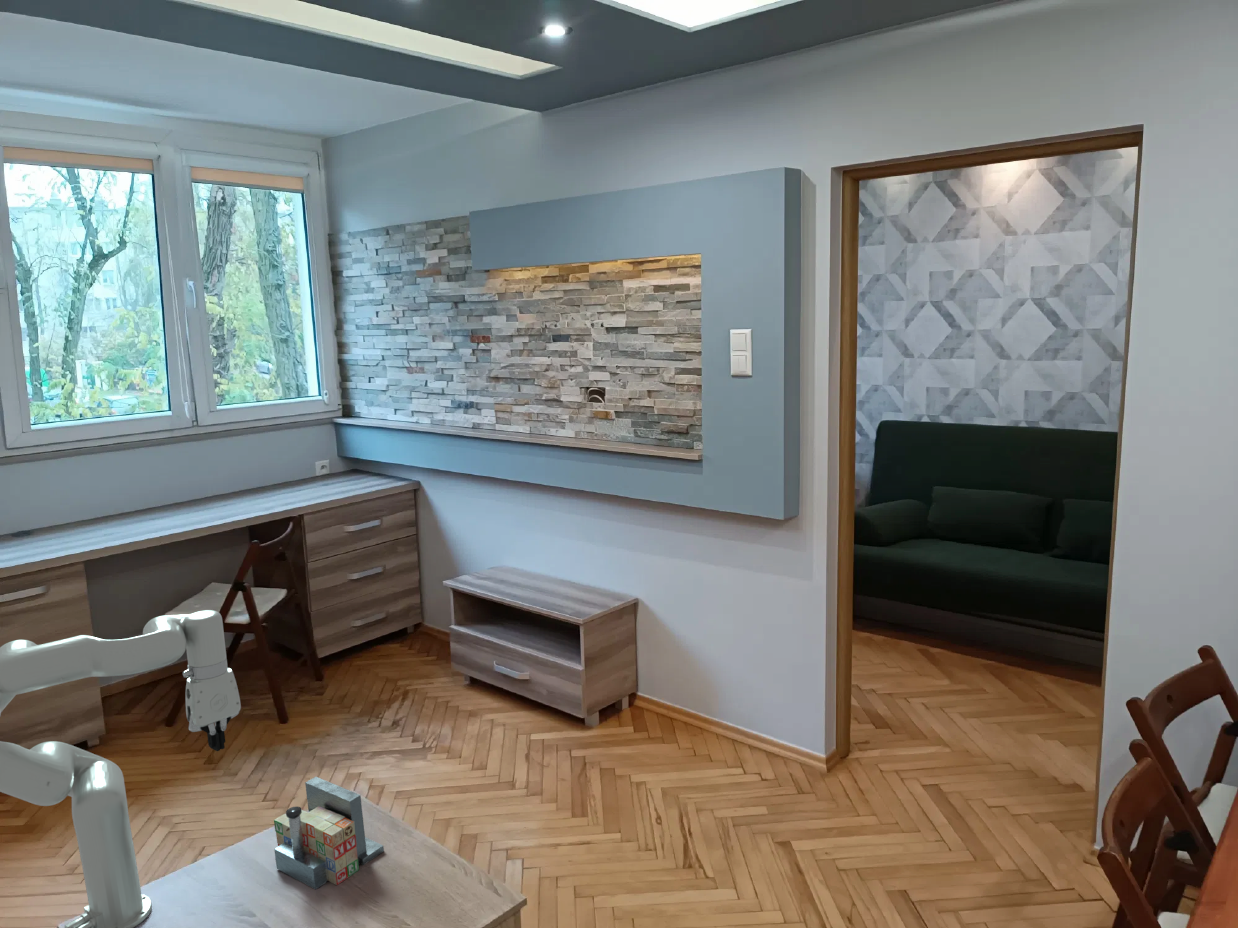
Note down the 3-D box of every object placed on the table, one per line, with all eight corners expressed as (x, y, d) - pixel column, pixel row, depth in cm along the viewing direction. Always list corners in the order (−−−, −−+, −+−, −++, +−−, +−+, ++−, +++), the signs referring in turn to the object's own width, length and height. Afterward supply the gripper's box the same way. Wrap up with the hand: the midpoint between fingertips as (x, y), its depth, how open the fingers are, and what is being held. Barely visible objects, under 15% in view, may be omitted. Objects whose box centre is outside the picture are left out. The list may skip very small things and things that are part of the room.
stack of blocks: (277, 855, 206) (271, 807, 203) (300, 841, 211) (295, 794, 209) (337, 885, 194) (331, 834, 191) (360, 870, 199) (354, 820, 197)
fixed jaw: (357, 868, 199) (350, 803, 196) (308, 844, 209) (300, 782, 206) (384, 851, 205) (377, 787, 202) (334, 828, 215) (327, 767, 212)
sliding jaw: (315, 889, 192) (307, 823, 189) (276, 868, 200) (268, 804, 197) (328, 880, 195) (321, 814, 192) (290, 860, 203) (282, 797, 200)
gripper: (182, 684, 181) (192, 767, 184) (250, 660, 193) (258, 739, 196) (164, 676, 186) (174, 757, 189) (232, 653, 198) (240, 730, 201)
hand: (217, 748), depth 193 cm, fingers closed
